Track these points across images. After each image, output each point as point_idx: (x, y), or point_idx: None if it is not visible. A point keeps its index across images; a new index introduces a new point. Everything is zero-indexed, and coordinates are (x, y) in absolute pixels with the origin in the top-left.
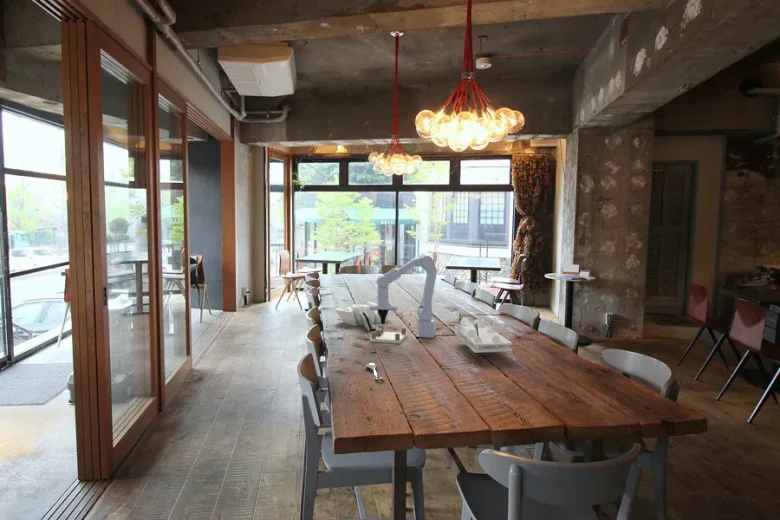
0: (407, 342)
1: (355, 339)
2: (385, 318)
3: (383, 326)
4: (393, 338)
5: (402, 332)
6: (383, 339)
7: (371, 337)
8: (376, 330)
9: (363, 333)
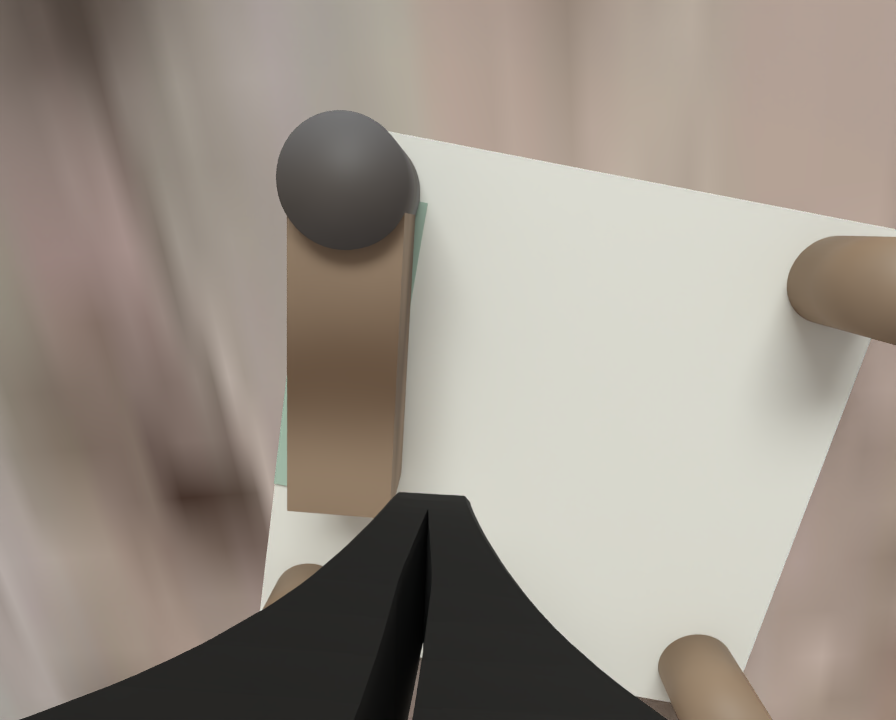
0: (827, 617)
1: (37, 516)
2: (497, 576)
3: (408, 188)
4: (631, 608)
5: (827, 323)
6: None
7: (268, 574)
8: (301, 510)
9: (32, 114)
